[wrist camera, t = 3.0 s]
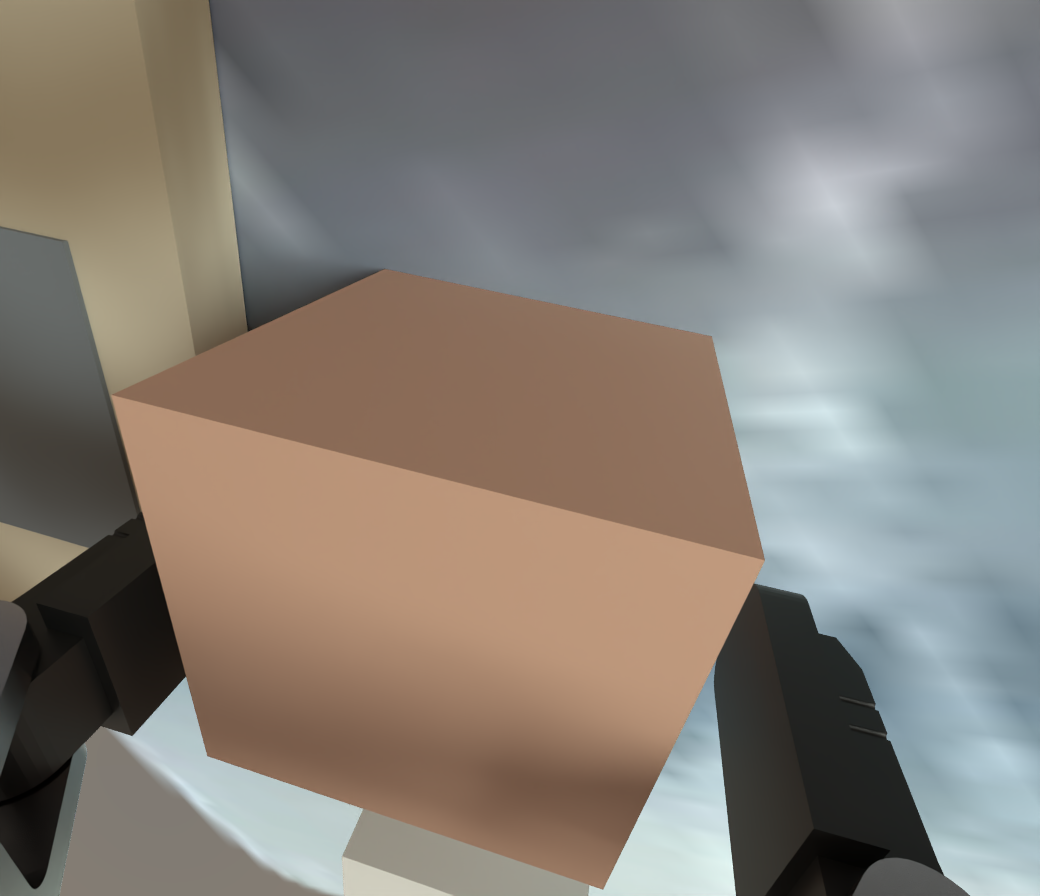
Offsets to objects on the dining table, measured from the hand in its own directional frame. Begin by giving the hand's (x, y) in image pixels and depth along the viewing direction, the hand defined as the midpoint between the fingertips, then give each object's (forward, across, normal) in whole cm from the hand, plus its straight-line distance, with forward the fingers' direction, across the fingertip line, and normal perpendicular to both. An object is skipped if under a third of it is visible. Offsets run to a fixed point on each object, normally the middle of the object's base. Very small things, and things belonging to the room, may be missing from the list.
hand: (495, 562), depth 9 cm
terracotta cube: (+3, 0, -1) cm, 3 cm away
